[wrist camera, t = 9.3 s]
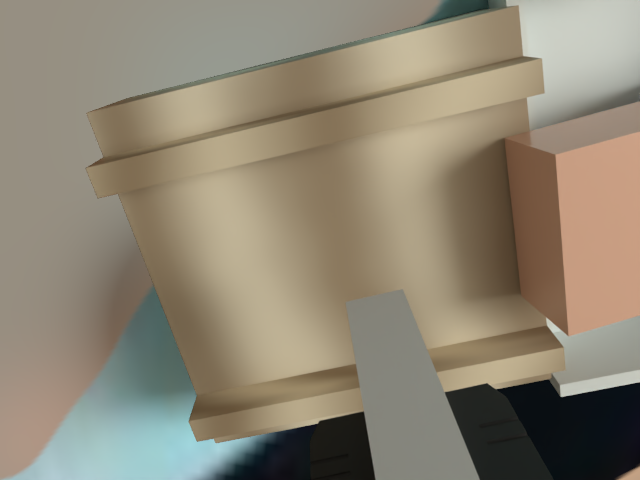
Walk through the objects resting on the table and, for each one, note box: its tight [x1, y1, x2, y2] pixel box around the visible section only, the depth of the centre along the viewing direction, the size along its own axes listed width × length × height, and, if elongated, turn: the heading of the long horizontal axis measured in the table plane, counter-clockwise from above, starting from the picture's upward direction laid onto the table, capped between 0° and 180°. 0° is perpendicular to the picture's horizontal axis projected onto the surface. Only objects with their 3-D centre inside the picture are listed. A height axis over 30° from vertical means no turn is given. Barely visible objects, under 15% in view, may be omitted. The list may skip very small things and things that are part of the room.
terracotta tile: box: [504, 101, 640, 336], centre depth 17 cm, size 6×6×3 cm
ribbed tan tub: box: [86, 5, 566, 443], centre depth 20 cm, size 14×14×6 cm
